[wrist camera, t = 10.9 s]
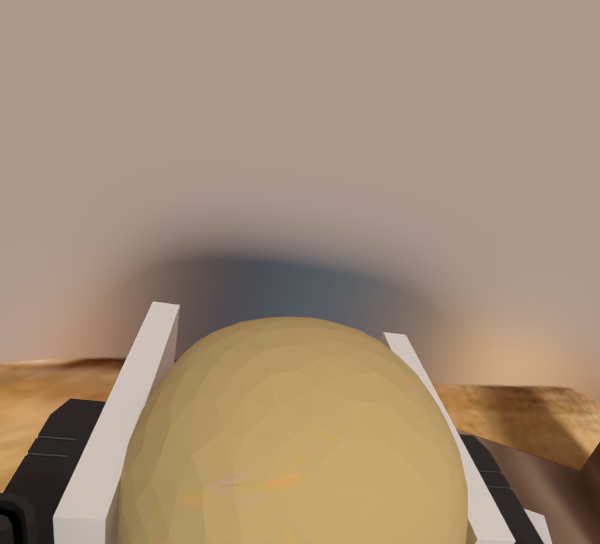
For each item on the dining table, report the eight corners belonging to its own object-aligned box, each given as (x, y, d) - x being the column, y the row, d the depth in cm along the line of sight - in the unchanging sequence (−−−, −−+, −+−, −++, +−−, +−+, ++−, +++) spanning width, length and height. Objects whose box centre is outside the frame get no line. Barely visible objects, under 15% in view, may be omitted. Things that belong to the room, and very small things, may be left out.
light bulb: (128, 547, 13) (144, 253, 9) (323, 528, 15) (410, 277, 11) (83, 909, 8) (69, 577, 3) (401, 808, 9) (639, 512, 5)
